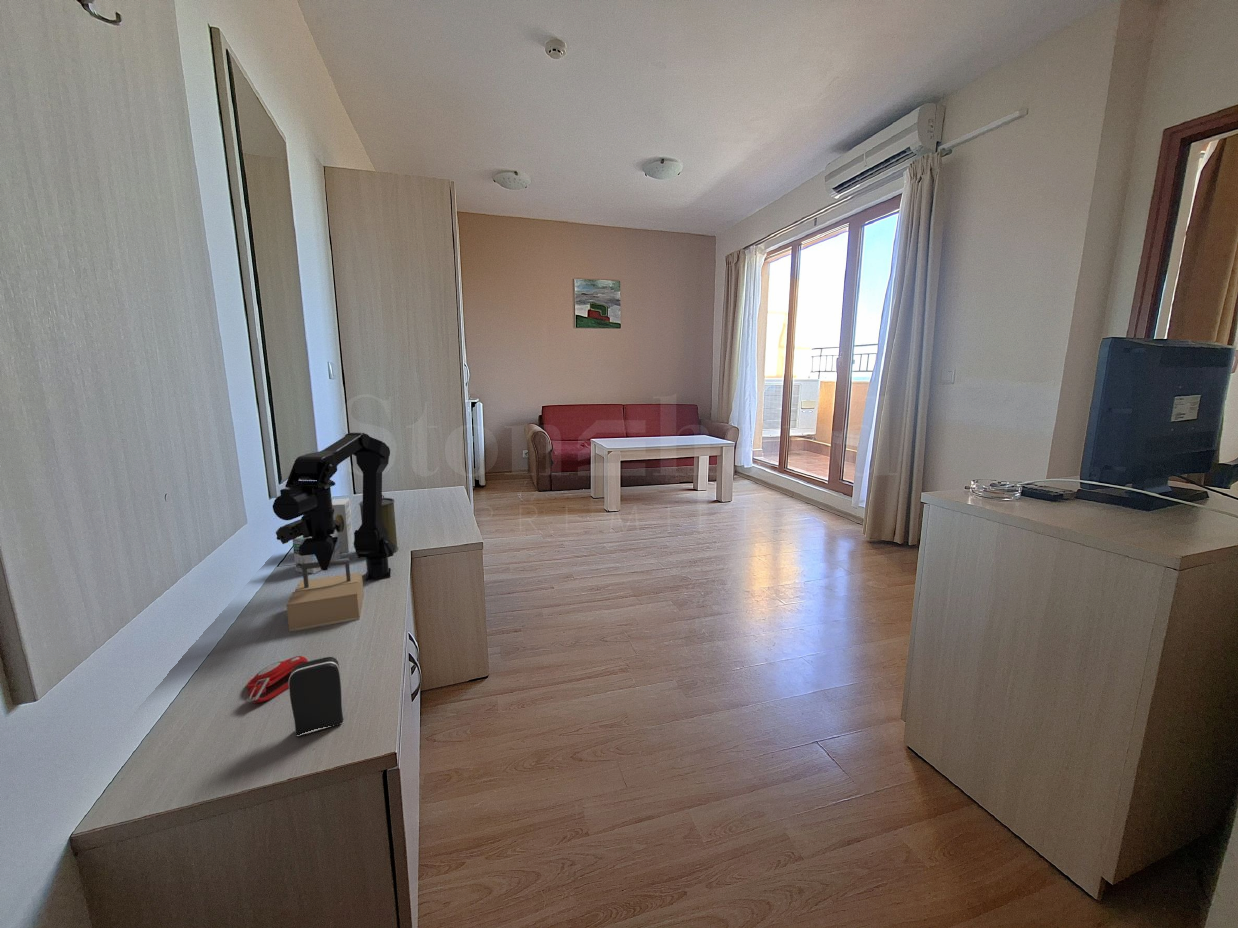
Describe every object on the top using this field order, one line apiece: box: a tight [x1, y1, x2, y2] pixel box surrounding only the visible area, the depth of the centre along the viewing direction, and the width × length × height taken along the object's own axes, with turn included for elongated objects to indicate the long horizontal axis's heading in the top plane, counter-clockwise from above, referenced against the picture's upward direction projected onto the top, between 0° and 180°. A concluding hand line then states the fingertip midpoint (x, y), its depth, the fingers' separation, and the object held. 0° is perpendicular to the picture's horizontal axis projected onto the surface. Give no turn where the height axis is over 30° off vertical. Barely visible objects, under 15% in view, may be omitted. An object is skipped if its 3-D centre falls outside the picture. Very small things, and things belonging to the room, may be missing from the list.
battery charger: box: [288, 656, 345, 736], centre depth 76 cm, size 7×4×11 cm, turn 120°
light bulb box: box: [291, 530, 341, 575], centre depth 142 cm, size 11×7×11 cm, turn 168°
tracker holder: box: [245, 655, 309, 704], centre depth 87 cm, size 12×4×10 cm
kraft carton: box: [285, 573, 365, 633], centre depth 114 cm, size 14×14×7 cm
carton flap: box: [294, 557, 361, 592], centre depth 116 cm, size 6×13×7 cm, turn 115°
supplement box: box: [332, 497, 354, 554], centre depth 156 cm, size 10×9×17 cm
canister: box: [358, 494, 399, 552], centre depth 155 cm, size 11×10×20 cm
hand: (324, 569), depth 113 cm, fingers closed
